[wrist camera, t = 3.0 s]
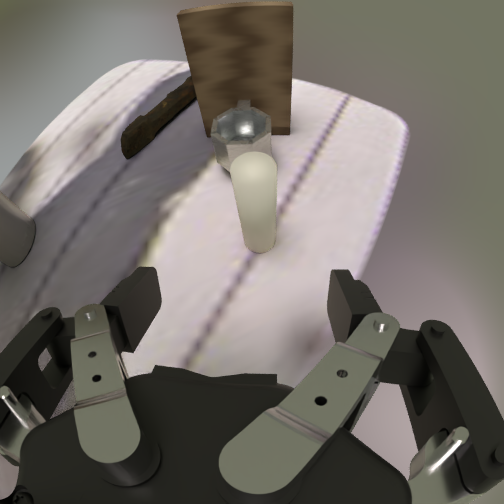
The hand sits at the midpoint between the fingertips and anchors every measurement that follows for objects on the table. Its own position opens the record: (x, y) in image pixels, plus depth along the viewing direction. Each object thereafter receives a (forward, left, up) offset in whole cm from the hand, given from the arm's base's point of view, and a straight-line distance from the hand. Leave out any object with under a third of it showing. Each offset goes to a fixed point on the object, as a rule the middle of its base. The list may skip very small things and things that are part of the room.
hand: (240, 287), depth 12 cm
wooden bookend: (-2, +30, -16) cm, 34 cm away
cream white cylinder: (0, +10, -16) cm, 19 cm away
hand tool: (-15, +32, -16) cm, 39 cm away
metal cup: (-2, +22, -14) cm, 26 cm away
